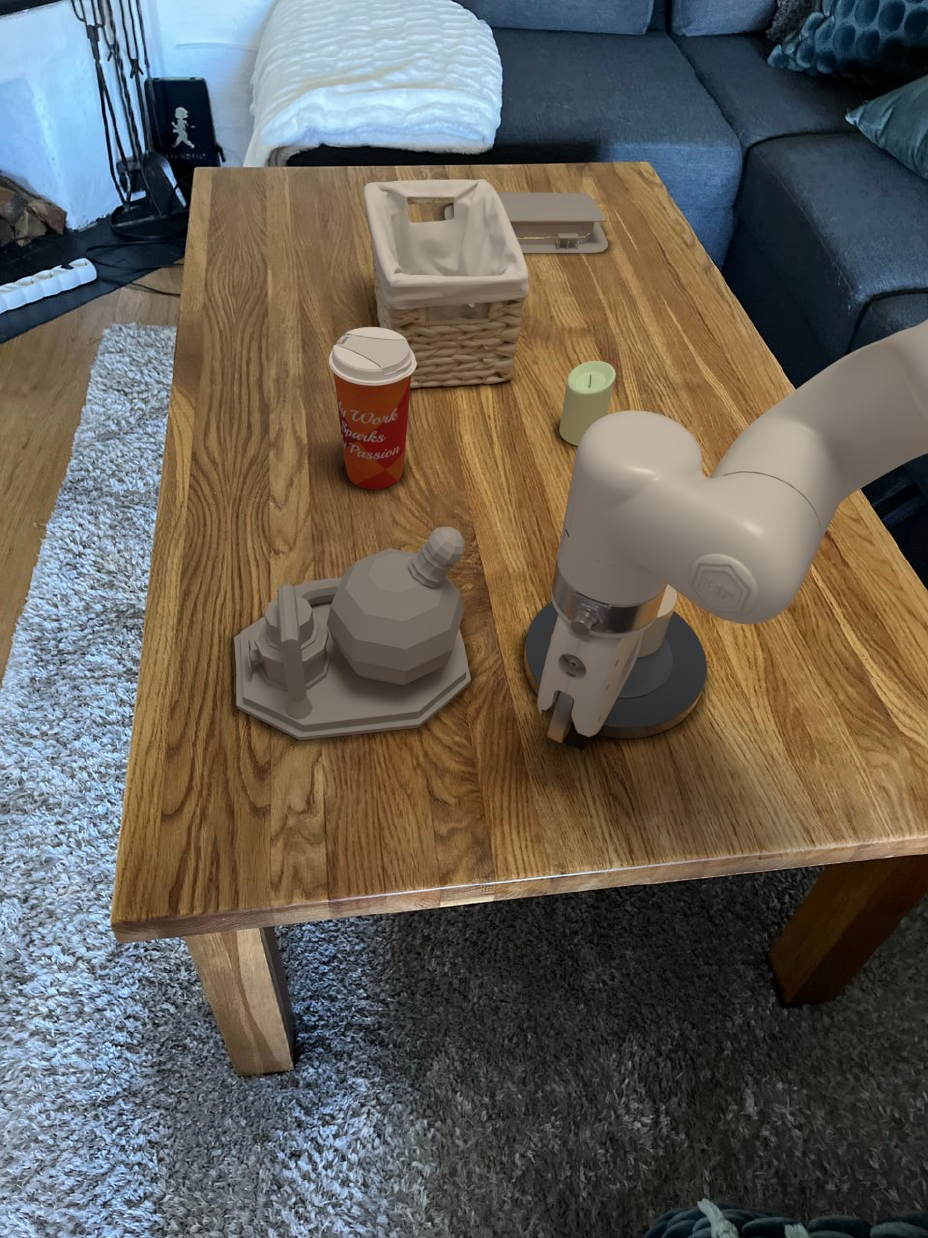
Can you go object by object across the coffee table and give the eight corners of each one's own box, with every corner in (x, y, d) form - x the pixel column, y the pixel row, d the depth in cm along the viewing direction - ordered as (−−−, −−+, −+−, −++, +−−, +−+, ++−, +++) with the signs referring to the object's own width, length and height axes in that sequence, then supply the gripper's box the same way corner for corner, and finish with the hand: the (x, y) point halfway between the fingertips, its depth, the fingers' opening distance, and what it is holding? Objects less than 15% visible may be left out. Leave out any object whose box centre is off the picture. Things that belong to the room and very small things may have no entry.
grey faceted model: (449, 587, 89) (457, 459, 77) (481, 719, 79) (496, 595, 67) (233, 609, 85) (208, 477, 74) (238, 749, 75) (210, 623, 64)
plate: (726, 641, 86) (731, 629, 85) (665, 769, 76) (670, 757, 75) (568, 575, 90) (570, 563, 89) (492, 688, 81) (493, 676, 80)
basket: (521, 391, 110) (535, 273, 99) (384, 399, 108) (383, 279, 97) (484, 286, 126) (492, 175, 115) (363, 291, 123) (360, 178, 112)
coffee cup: (321, 483, 97) (312, 358, 86) (357, 439, 103) (352, 315, 91) (395, 506, 96) (394, 381, 84) (427, 460, 101) (431, 336, 90)
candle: (572, 451, 103) (584, 388, 97) (551, 425, 106) (560, 362, 100) (611, 441, 105) (624, 378, 99) (588, 416, 108) (600, 353, 102)
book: (612, 252, 134) (617, 225, 131) (453, 253, 131) (454, 226, 128) (590, 203, 144) (594, 177, 141) (442, 203, 141) (443, 177, 138)
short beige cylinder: (674, 621, 85) (687, 581, 81) (649, 668, 81) (662, 629, 77) (609, 594, 87) (619, 554, 83) (581, 639, 83) (591, 599, 79)
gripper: (619, 681, 58) (576, 827, 72) (695, 538, 67) (644, 692, 81) (510, 634, 60) (489, 785, 74) (599, 501, 69) (565, 658, 83)
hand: (570, 736), depth 77 cm, fingers closed
